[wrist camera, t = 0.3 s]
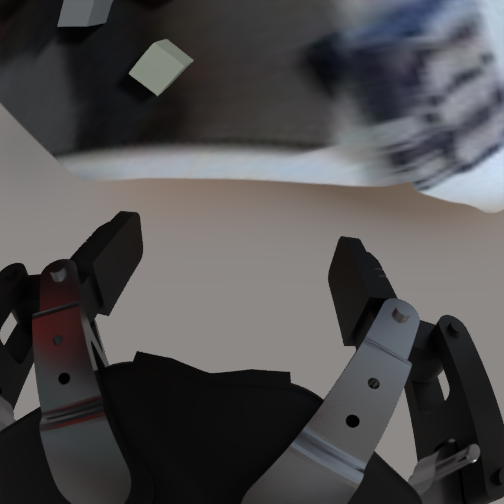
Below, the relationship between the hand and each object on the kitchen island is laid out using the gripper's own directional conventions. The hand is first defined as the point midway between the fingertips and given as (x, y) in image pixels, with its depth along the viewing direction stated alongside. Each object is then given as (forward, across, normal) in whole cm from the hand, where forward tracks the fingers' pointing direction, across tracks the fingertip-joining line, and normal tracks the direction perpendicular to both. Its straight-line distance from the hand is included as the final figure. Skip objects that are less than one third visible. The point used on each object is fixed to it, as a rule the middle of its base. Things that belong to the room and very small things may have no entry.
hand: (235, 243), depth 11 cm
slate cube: (+24, +23, -20) cm, 39 cm away
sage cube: (+27, +13, -10) cm, 31 cm away
